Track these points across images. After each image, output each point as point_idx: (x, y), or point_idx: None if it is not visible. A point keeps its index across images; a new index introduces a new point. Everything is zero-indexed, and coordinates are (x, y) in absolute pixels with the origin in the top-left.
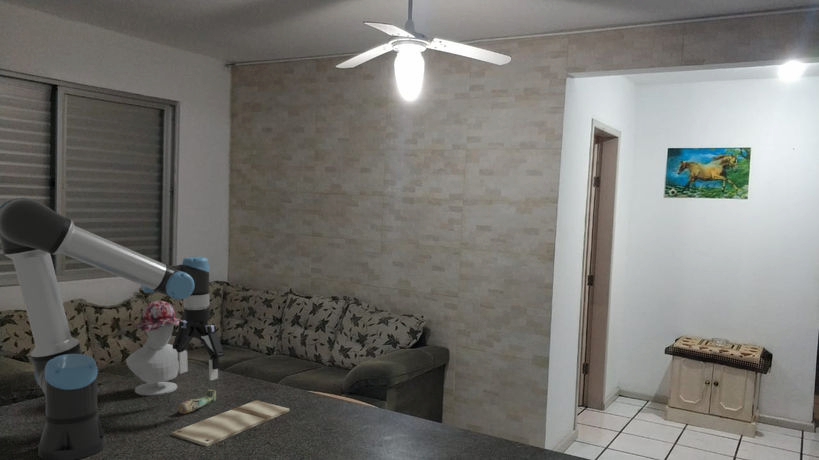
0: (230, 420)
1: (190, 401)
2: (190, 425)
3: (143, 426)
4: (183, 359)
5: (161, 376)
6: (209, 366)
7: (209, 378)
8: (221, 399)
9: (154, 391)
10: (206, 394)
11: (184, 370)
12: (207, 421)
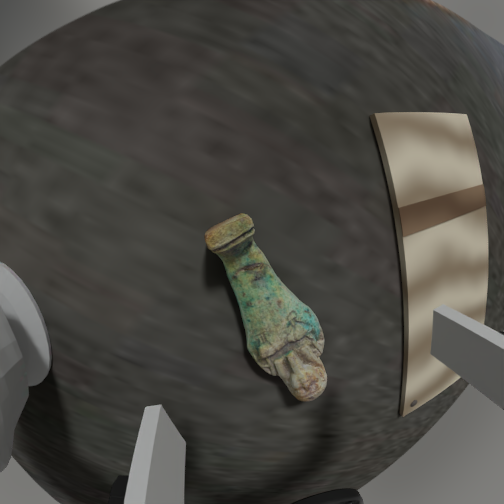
0: (453, 284)
1: (299, 364)
2: (408, 380)
3: (308, 454)
4: (167, 501)
5: (14, 373)
6: (484, 391)
7: (436, 357)
8: (244, 187)
9: (37, 360)
10: (218, 254)
11: (170, 431)
12: (421, 339)
